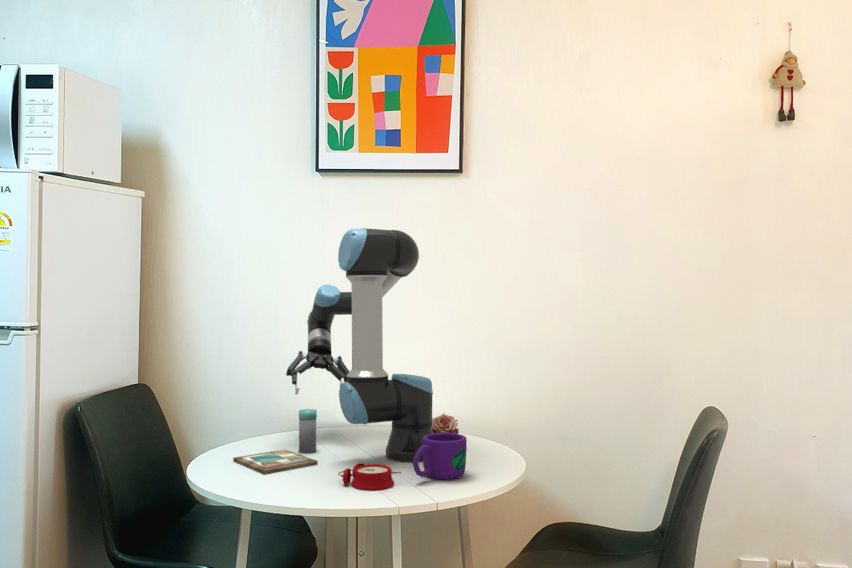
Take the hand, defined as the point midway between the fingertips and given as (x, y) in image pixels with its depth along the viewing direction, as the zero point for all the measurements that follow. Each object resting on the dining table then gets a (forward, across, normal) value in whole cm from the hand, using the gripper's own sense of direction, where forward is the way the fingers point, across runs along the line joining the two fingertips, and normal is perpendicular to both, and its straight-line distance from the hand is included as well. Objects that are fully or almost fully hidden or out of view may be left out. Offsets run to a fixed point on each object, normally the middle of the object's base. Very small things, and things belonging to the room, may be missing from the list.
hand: (320, 394), depth 211 cm
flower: (+6, -41, -8) cm, 43 cm away
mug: (+39, -27, +14) cm, 49 cm away
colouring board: (+22, +11, -6) cm, 25 cm away
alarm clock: (+41, -9, +12) cm, 44 cm away
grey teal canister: (+12, +1, -12) cm, 17 cm away
